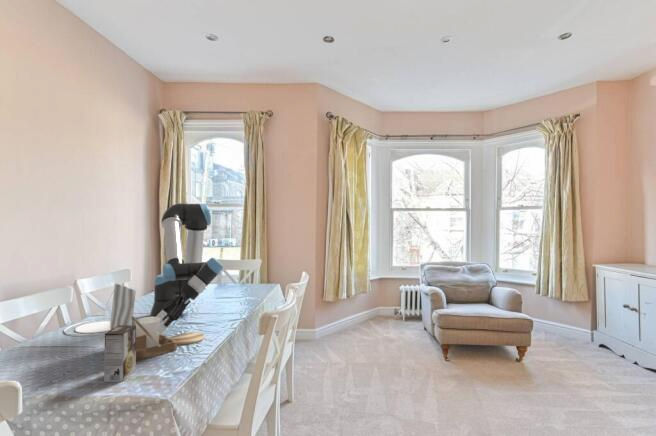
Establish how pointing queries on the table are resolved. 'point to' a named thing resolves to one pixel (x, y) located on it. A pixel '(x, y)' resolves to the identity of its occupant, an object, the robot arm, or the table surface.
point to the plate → (92, 327)
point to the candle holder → (149, 329)
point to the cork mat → (188, 338)
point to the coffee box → (120, 353)
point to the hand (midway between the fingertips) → (155, 327)
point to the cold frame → (124, 316)
